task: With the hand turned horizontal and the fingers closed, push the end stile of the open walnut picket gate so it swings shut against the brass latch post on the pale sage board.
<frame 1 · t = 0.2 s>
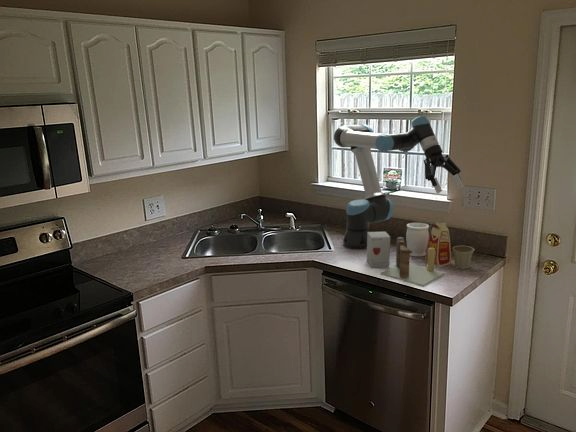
hand: (450, 190, 211), 35 cm above the worktop, tool tilted 35°, fingers open, 13 cm apart
gate frame: (399, 267, 219), on the worktop
gate: (404, 258, 209), point 7 cm above the worktop, hinge at -50.0°
milk carton: (438, 262, 224), on the worktop
supplement box: (377, 265, 223), on the worktop
jar: (416, 254, 236), on the worktop
flower pot: (462, 267, 218), on the worktop
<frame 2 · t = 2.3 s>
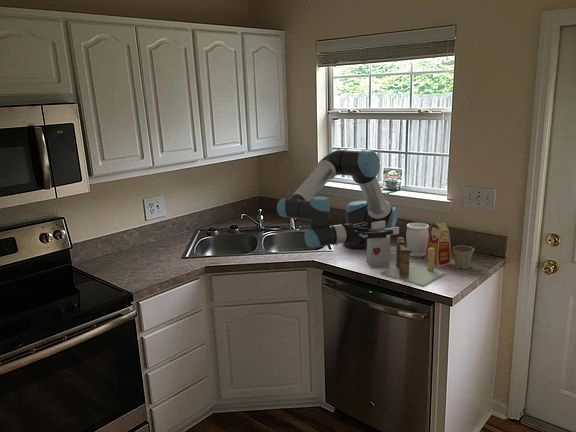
hand: (391, 227, 197), 24 cm above the worktop, tool horizontal, fingers open, 10 cm apart
nothing on the worktop moved.
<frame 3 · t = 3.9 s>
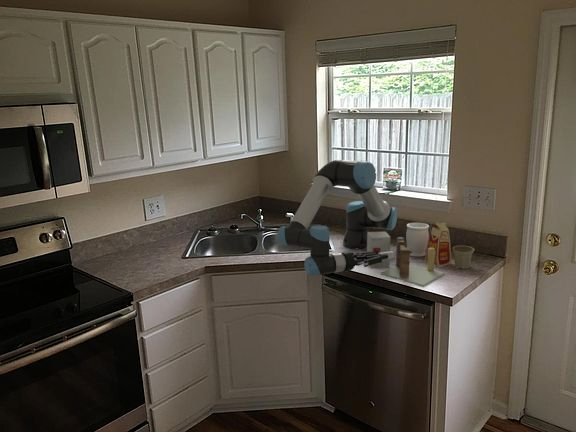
hand: (392, 254, 200), 12 cm above the worktop, tool horizontal, fingers closed
nothing on the worktop moved.
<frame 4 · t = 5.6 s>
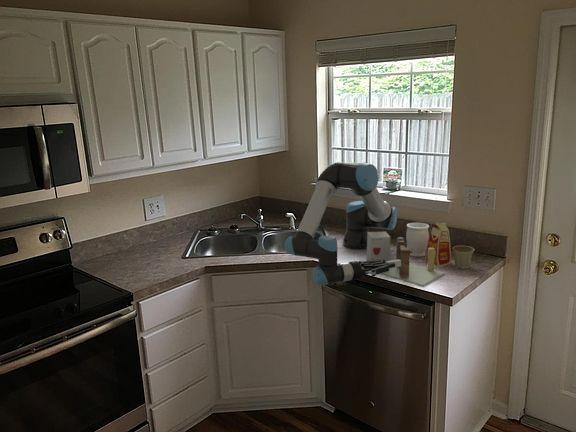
hand: (399, 262, 202), 8 cm above the worktop, tool horizontal, fingers closed
gate: (404, 258, 209), point 8 cm above the worktop, hinge at -50.0°, touching gripper
everything else where it was.
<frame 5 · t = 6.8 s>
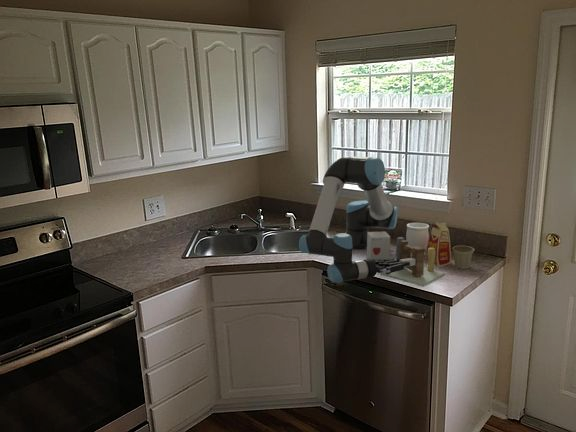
hand: (414, 261, 204), 8 cm above the worktop, tool horizontal, fingers closed, pressing on gate
gate: (412, 257, 209), point 7 cm above the worktop, hinge at -25.1°, touching gripper
everything else where it was.
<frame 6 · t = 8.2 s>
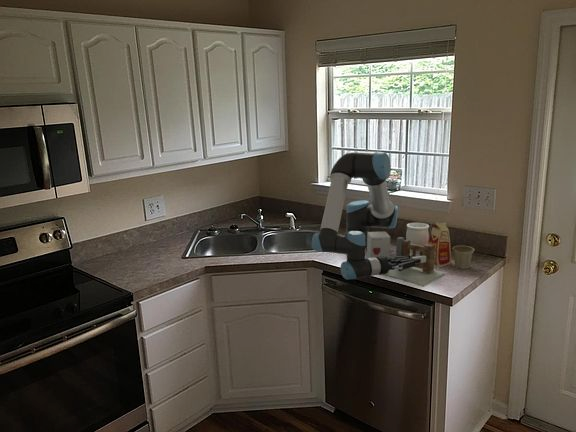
hand: (425, 258, 207), 8 cm above the worktop, tool horizontal, fingers closed
gate: (418, 255, 212), point 8 cm above the worktop, hinge at 2.3°, touching gate frame, gripper
everything else where it was.
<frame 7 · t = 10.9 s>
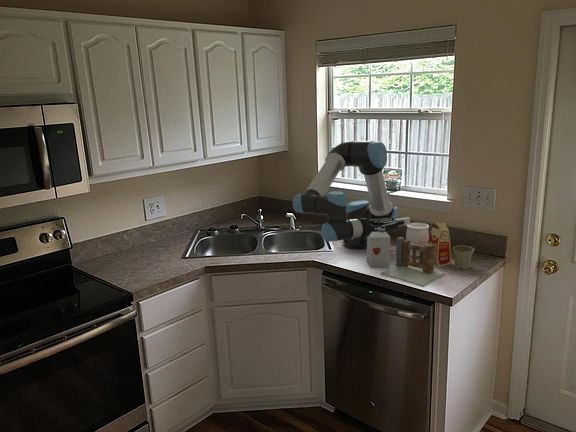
hand: (409, 220, 201), 26 cm above the worktop, tool horizontal, fingers closed
gate: (418, 255, 212), point 8 cm above the worktop, hinge at 2.3°, touching gate frame
everything else where it was.
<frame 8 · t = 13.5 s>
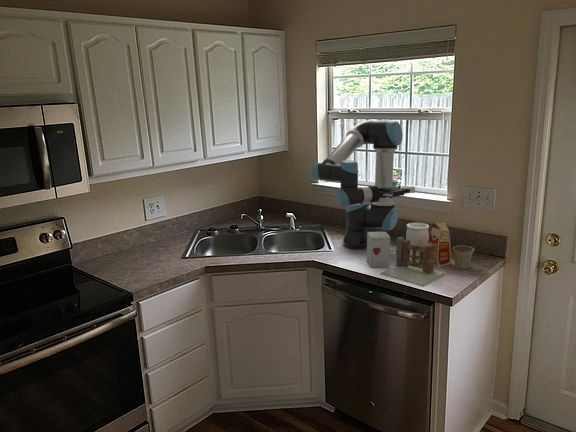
hand: (413, 189, 221), 34 cm above the worktop, tool horizontal, fingers closed
nothing on the worktop moved.
at the end: gate at +2° (first picture: -50°) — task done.
